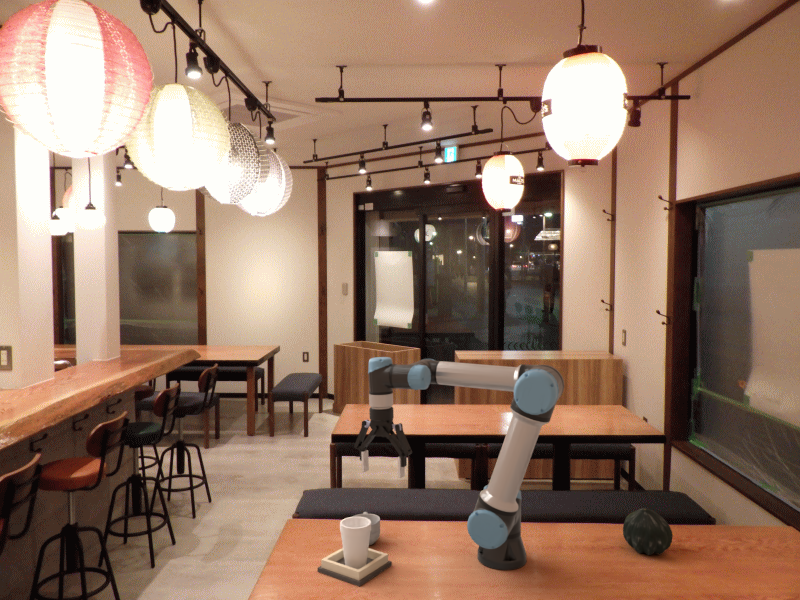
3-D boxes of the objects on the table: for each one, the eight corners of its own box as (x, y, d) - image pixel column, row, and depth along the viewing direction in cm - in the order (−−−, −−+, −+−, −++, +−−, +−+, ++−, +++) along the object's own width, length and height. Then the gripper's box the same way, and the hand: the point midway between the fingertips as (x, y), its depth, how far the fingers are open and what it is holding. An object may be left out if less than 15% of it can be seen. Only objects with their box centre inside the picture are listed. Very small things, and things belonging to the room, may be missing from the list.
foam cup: (347, 574, 183) (347, 530, 182) (335, 561, 191) (335, 520, 190) (376, 567, 187) (376, 524, 187) (363, 555, 195) (363, 514, 195)
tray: (391, 565, 191) (391, 553, 191) (359, 586, 178) (359, 574, 178) (351, 552, 200) (351, 541, 200) (317, 571, 187) (317, 559, 187)
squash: (657, 521, 212) (633, 492, 208) (689, 541, 197) (664, 509, 194) (630, 552, 210) (605, 522, 206) (659, 574, 195) (633, 543, 192)
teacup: (375, 550, 202) (375, 526, 201) (343, 547, 204) (343, 523, 203) (385, 533, 215) (385, 510, 215) (355, 531, 217) (355, 508, 217)
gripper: (421, 407, 192) (423, 476, 192) (356, 401, 205) (357, 465, 205) (409, 412, 185) (411, 483, 186) (342, 405, 199) (344, 471, 199)
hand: (383, 474), depth 196 cm, fingers open, 13 cm apart
